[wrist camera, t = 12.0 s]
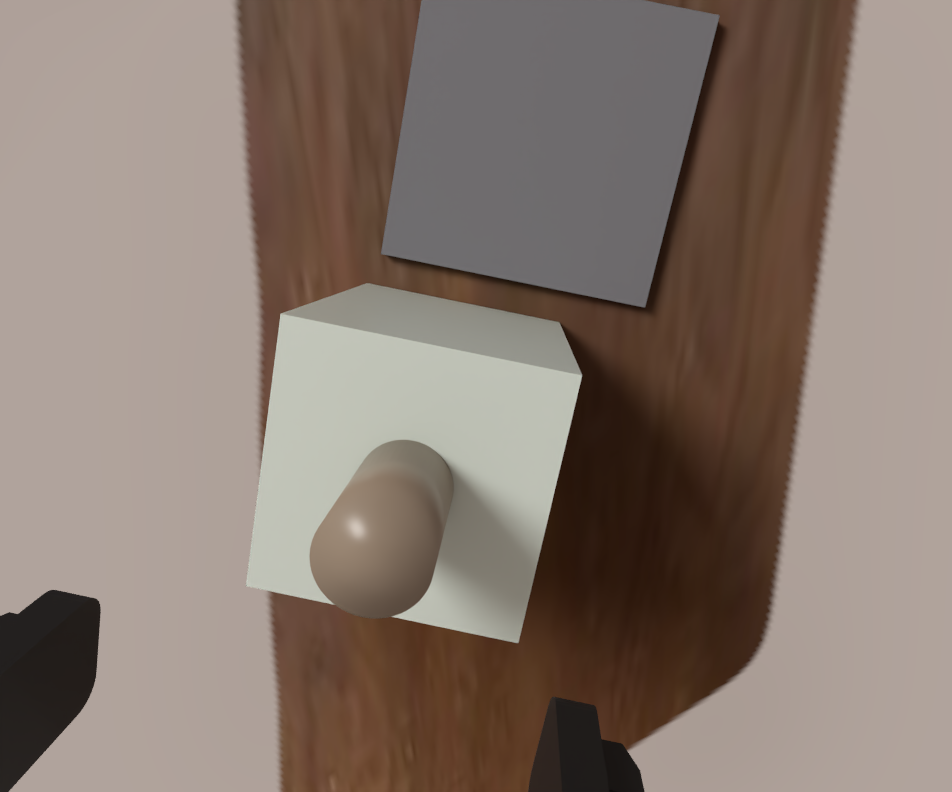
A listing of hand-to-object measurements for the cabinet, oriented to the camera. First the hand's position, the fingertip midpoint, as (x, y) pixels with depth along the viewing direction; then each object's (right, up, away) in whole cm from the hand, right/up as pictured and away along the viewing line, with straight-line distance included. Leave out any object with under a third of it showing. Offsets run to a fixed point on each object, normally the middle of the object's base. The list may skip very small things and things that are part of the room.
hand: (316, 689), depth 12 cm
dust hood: (+1, +5, +21) cm, 22 cm away
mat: (+6, +16, +18) cm, 25 cm away
